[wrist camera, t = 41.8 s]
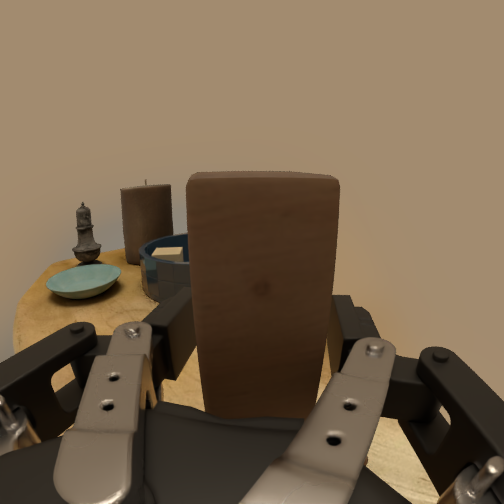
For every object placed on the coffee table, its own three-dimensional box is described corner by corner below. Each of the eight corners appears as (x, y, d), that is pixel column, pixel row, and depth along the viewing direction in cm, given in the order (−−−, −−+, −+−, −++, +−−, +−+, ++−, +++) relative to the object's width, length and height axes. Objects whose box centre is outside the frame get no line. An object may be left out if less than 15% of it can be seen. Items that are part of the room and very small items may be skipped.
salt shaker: (80, 272, 46) (72, 204, 43) (71, 266, 49) (64, 203, 46) (108, 265, 50) (102, 199, 47) (97, 259, 54) (91, 199, 51)
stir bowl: (281, 264, 51) (281, 232, 50) (271, 315, 33) (272, 267, 31) (174, 259, 54) (172, 230, 53) (117, 301, 35) (111, 259, 34)
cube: (184, 272, 44) (182, 246, 43) (182, 281, 41) (180, 253, 40) (158, 273, 44) (156, 247, 43) (154, 282, 40) (151, 254, 39)
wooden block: (225, 520, 10) (184, 175, 5) (218, 472, 13) (189, 172, 9) (351, 494, 11) (446, 185, 7) (331, 453, 14) (381, 176, 10)
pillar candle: (182, 260, 54) (178, 177, 50) (130, 268, 49) (124, 180, 45) (166, 249, 62) (162, 178, 58) (121, 256, 56) (116, 181, 53)
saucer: (52, 314, 30) (48, 297, 29) (46, 286, 39) (44, 273, 38) (134, 294, 38) (131, 278, 37) (111, 272, 46) (109, 259, 46)
